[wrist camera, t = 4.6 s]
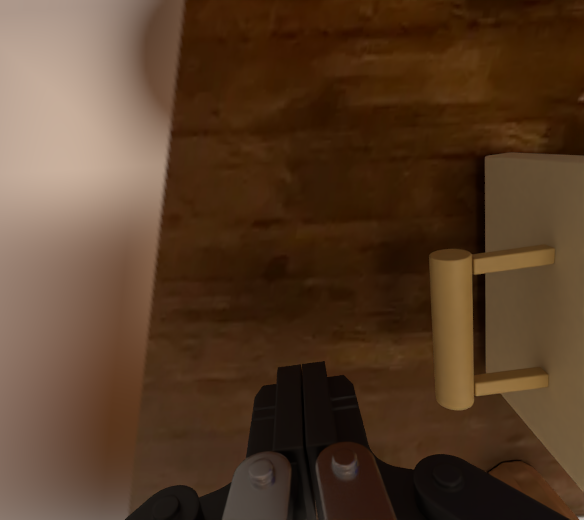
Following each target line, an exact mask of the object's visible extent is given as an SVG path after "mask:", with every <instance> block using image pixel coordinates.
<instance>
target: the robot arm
mask: <svg viewBox="0 0 584 520" xmlns="http://www.w3.org/2000/svg"><path fill="white" fill-rule="evenodd" d="M302 373H303V375H302ZM315 502H316V507H317V513H318V519H319V520H570V519H568V518H567V517H565V516H563V515H561V514H560V513H558V512H556V511H554V510H552V509H551V508H549V507H547V506H545V505H543V504H542V503H540V502H538V501H536V500H535V499H533V498H531V497H529V496H527V495H526V494H524V493H522V492H520V491H518V490H517V489H515V488H513V487H511V486H510V485H508V484H506V483H504V482H502V481H501V480H499V479H497V478H495V477H493V476H492V475H490V474H488V473H486V472H485V471H483V470H481V469H479V468H477V467H476V466H474V465H472V464H470V463H468V462H467V461H465V460H463V459H461V458H458V457H455V456H452V455H445V454H437V455H431V456H428V457H426V458H424V459H422V460H421V461H420V462H419V463H418V464H417V465H416V467H415V469H414V470H412V469H406V468H400V467H395V466H392V465H389V464H387V463H385V462H383V461H381V460H380V459H378V458H377V457H376V456H375V455H374V454H373V453H372V451H371V449H370V448H369V445H368V441H367V437H366V433H365V429H364V425H363V421H362V418H361V414H360V410H359V406H358V402H357V398H356V394H355V390H354V386H353V384H352V383H351V382H350V381H349V380H348V379H347V378H346V377H345V376H344V375H340V376H333V377H327V374H326V367H325V361H322V362H315V363H307V364H302V369H301V365H293V366H286V367H278V370H277V384H273V385H266V386H263V387H262V388H261V389H260V391H259V392H258V393H257V395H256V396H255V400H254V407H253V414H252V422H251V427H250V434H249V441H248V448H247V455H246V459H245V460H244V461H243V462H241V463H240V465H239V466H238V467H237V469H236V470H235V473H234V475H233V479H232V482H231V483H229V484H228V485H226V486H225V487H223V488H221V489H219V490H217V491H214V492H212V493H209V494H207V495H204V496H202V497H200V498H199V497H198V494H197V493H196V491H195V490H193V489H192V488H190V487H188V486H183V485H177V486H171V487H168V488H165V489H163V490H161V491H159V492H157V493H156V494H154V495H153V496H152V497H150V498H149V499H148V500H147V501H146V502H145V503H143V504H142V505H141V506H140V507H139V508H138V509H136V510H135V511H134V512H133V513H132V514H131V515H129V516H128V517H127V518H126V519H125V520H316V508H315Z"/></svg>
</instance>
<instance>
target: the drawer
mask: <svg viewBox="0 0 584 520" xmlns="http://www.w3.org/2000/svg"><path fill="white" fill-rule="evenodd" d="M429 269H430V290H431V311H432V332H433V353H434V374H435V395H436V400H437V401H438V403H439V404H440V405H442V406H443V407H445V408H448V409H452V410H464V409H467V408H469V407H471V406H472V404H473V403H474V394H475V395H476V396H482V395H490V394H498V393H500V394H501V395H502V396H503V397H504V398H505V399H506V401H507V402H508V403H509V404H510V405H511V407H512V408H513V409H514V410H515V411H516V413H517V414H518V415H519V416H520V417H521V418H522V420H523V421H524V422H525V423H526V424H527V426H528V427H529V428H530V429H531V430H532V431H533V433H534V434H535V435H536V436H537V437H538V439H539V440H540V441H541V442H542V443H543V445H544V446H545V447H546V448H547V449H548V450H549V452H550V453H551V454H552V455H553V456H554V458H555V459H556V460H557V461H558V462H559V464H560V465H561V466H562V467H563V468H564V469H565V471H566V472H567V473H568V474H569V475H570V477H571V478H572V479H573V480H574V481H575V483H576V484H577V485H578V486H579V487H580V488H581V490H582V491H583V492H584V156H580V155H558V154H536V153H513V152H509V153H503V154H496V155H489V156H486V157H485V253H478V254H471V253H470V252H469V251H466V250H461V249H443V250H438V251H435V252H432V253H431V254H430V255H429ZM472 273H473V274H475V275H477V274H484V273H485V302H486V374H478V375H474V366H473V297H472Z"/></svg>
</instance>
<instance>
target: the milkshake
mask: <svg viewBox="0 0 584 520" xmlns="http://www.w3.org/2000/svg"><path fill="white" fill-rule="evenodd" d="M488 474H490V475H492V476H493V477H495V478H497V479H499V480H501V481H502V482H504V483H506V484H508V485H510V486H511V487H513V488H515V489H517V490H518V491H520V492H522V493H524V494H526V495H527V496H529V497H531V498H533V499H535V500H536V501H538V502H540V503H542V504H543V505H545V506H547V507H549V508H551V509H552V510H554V511H556V512H558V513H560V514H561V515H563V516H565V517H567V518H568V519H570V520H579V519H578V518H577V516H576V515H575V514H574V513H573V512H572V511H571V509H570V508H569V507H568V506H567V505H566V504H565V503H564V501H563V500H562V499H561V498H560V497H559V496H558V495H557V493H556V492H555V491H554V490H553V489H552V488H551V486H550V485H549V484H548V483H547V482H546V481H545V480H544V478H543V477H542V476H541V475H540V474H539V473H538V472H537V470H536V469H535V468H534V467H532V466H530V465H528V464H525V463H523V462H521V461H513V462H504V463H502V464H500V465H499V466H497V467H496V468H494V469H493V470H491V471H490V472H489V473H488Z"/></svg>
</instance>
